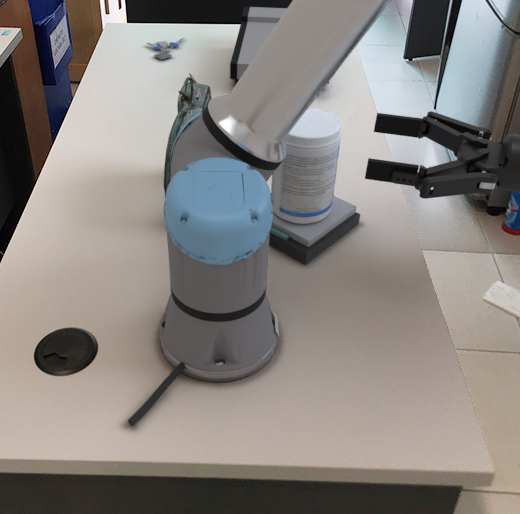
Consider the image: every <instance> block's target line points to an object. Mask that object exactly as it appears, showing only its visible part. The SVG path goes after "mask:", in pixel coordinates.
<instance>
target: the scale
mask: <svg viewBox="0 0 520 514" xmlns="http://www.w3.org/2000/svg"><path fill="white" fill-rule="evenodd" d="M360 218H361V213H359V212H357V205H355V204H354V203H353V204H352V203H350V202H348V201H346V200H344V199H342V198H339V197H338V196H335V195H333V201H332V208H331V211H330V213H329V214H328V215H327V216H326V217H325V218H324V219H322V220H320V221H317V222H314V223H309V224H297V223H292V222H289V221H286V220H284V219H282V218H280V217H279V216H277V215H276V214H275V213H274V211H273V219H272V224H271V229H270V237H269V246H271V247H273V248H275V249H277V250H278V251H281V253H284V254H286V255H288V256H290V257H291V258H293V259H295V260H297V261H299V262H301V263H302V264H304V265H306V264H308V263H309V262H311V261H312V260H313V259H315V258H316V257H317V256H319V255H320V254H321V253H323V252H324V251H325V250H326V249H328V248H329V247H330V246H332V245H333V244H334V243H336V242H337V241H338V240H340V239H342V238H343V237H344V236H345V235H347V234H348V233H349V232H350V231H352V230H353V229H355V228H356V227H357V226H358V225H359V224H360Z"/></svg>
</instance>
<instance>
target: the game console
mask: <svg viewBox="0 0 520 514" xmlns="http://www.w3.org/2000/svg"><path fill="white" fill-rule="evenodd" d="M287 8H288V7H286V8H285V7H265V6H264V7H263V6H261V7H259V6H244V7H243V9H242V13H241V22H240V25H239V29H238V32H237V37H236V41H235V44H234V48H233V52H232V55H231V58H230V59H231V60H230V63H229V65H230V66H229V67H230V68H229V71H230V72H229V79H230V80H234V84H235V85H236V84H237V82H238V81H239V79H240V78H241V76H242V75H243V73H244V72H245V70H246V69H247V67H248V66H249V64H250V63H251V62H252V60H253V59H254V57H255V56H256V54H257V53H258V51H259V50H260V48H261V47H262V45H263V44H264V42H265V41H266V39H267V38H268V36H269V35H270V33H271V32H272V30H273V29H274V27H275V26H276V24H277V23H278V22H279V20H280V19H281V17H282V16H283V14H284V13H285V11H286V10H287ZM329 83H330V81H329V82H328V83H327V85H328V84H329Z"/></svg>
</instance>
